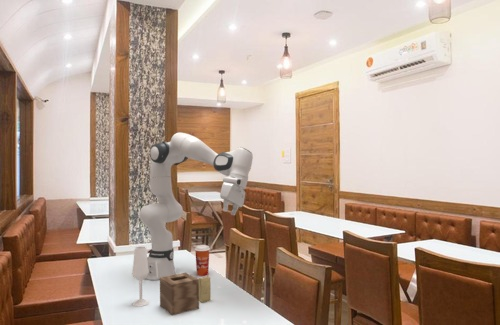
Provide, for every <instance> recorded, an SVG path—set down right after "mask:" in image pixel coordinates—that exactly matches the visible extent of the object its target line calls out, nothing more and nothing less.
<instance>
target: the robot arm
mask: <svg viewBox="0 0 500 325" xmlns="http://www.w3.org/2000/svg"><path fill="white" fill-rule="evenodd" d="M149 158H150V160H151V162H150V168H149V169H150V170H149V182H150V183H149V185H150V187H149V188H150V193H151V194H152V195H154V196H156V198H157V201H158V203H156V202H155V203H150V204H147V205H145V206H142V207H141V209H140V211H139V219H140V221H141V222H142V223H143V224H144V225H145V226H146V227H147V228H148V230H149V233H150V239H151V242H150V243H151V249H149V250H146V251H147V254H148V255H147V260H148V270H149V273H148V275H147V277H146V278H145V279H144V280H148V281H158V280H160V277H165V276H170V275H175V274H177V273H176V269H175V264H174V257H175V255H174V252H175V251H174V247H173V246H174V245H173V244H174V243H173V242H174V240H173V238H174V236H173V233H172V232H171V231H170V230H167V228H166V223H173V222H176V221H178V220H180V219H181V218H182V216H183V214H184V209H183V206H182V205H181V204H180V203H179V202H178V200H177V199H176V198H175V195H174V192H173V188H172V172H171V170H172V166H173V165H174V166H178V165H180V164H183V163H184V162H186V161H187V160H188V159H190V160H193V161H199V162H202V163H205V164H207V165H211V166H213V168H214V169H215V170H216V172H218V173H219V174H222V175H224V176H223V178H222V181H223V183H222V185H221V189H220V195H219V196H220V197H219V198H220V199H222V200H223V207H222V211H223V212H227V213H228V211H229V204H231V205H232V210H230V215H231V216H235V215H236V214H237V211H238V209H239V208H242V207H243V206H244V203H245V198H246V191H245V190H246V189H247V184H248V180H249V173H250V171H251V169H252V164H253V158H254V157H253V153H252V151H250V150H249V149H247V148H244V147H242V146H240V147H236V148H235V149H234V150H231V151H227V152H224V151H223V152H220V153H217V152H216V151H214V150H213V149H212V148H211V147H209V145H207V144H206V143H205V142H203V141H202V140H201V139H200V138H198V137H196V136H194V135H192V134H189V133H185V132H176V133H174V134H173V135H172V137H171V139H170V140H169V141H168V142H167V141H161V142H158V143H154V144H153V145H152V146H151V147H150V150H149Z"/></svg>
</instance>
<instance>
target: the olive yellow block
mask: <svg viewBox="0 0 500 325" xmlns="http://www.w3.org/2000/svg"><path fill="white" fill-rule="evenodd" d="M198 279H199V303H205V302H210V301H212V300H211V299H212V298H211V297H212V296H211V295H212V294H211V277H210V276H208V275H206V276H201V277H198Z"/></svg>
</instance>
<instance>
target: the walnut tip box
mask: <svg viewBox="0 0 500 325" xmlns="http://www.w3.org/2000/svg"><path fill="white" fill-rule="evenodd" d="M159 306H160V307H161V308H162V309H163V310H165V312H167V313H169V314H170V315H171V316H174V315H178V314H181V313H185V312H189V311H193V310H197V309H199V308H200V301H199V278H197V277H195V276H193V275H192V274H190V273H188V272H182V273H176V274H175V275H170V276H165V277H160V279H159Z"/></svg>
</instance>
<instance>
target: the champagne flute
mask: <svg viewBox="0 0 500 325" xmlns="http://www.w3.org/2000/svg"><path fill="white" fill-rule="evenodd" d="M133 250H134V252H133V253H134V254H133V265H132V276H133V278H134V279H135V280H137V281H138V282H139V287H138V288H139V290H138V291H139V293H138V294H139V295H138V296H139V298H138V299H137V300H135V302H133V303H132V305H133V306H134V307H143V306H147V305H149V303H150V301H148V300H146V299H144V298H143V281H144V280H146V279H145V278H146V277H147V275H148V273H149V270H148V260H147V257H148V252H147V251H148V250H147V247H146V246H143V245H141V246H136V247H134V249H133Z"/></svg>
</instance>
